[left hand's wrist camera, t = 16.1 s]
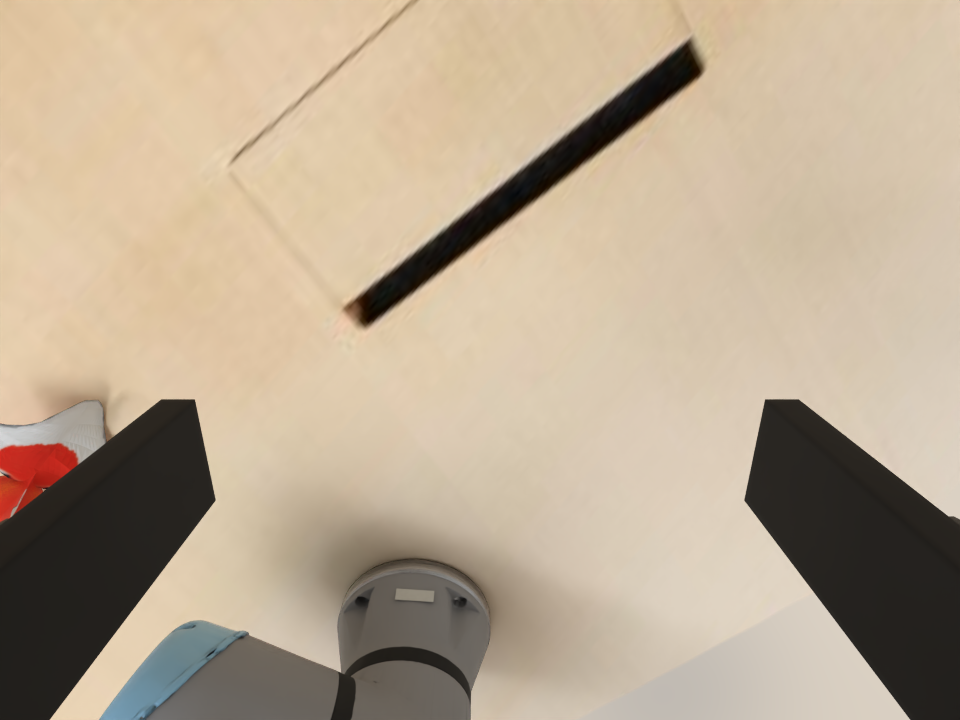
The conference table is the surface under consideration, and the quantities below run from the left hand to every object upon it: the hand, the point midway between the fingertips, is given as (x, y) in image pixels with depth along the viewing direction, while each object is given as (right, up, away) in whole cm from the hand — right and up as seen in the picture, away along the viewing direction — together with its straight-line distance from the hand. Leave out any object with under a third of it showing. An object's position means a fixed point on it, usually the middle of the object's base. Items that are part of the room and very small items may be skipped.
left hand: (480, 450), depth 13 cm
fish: (-38, -6, +36) cm, 53 cm away
